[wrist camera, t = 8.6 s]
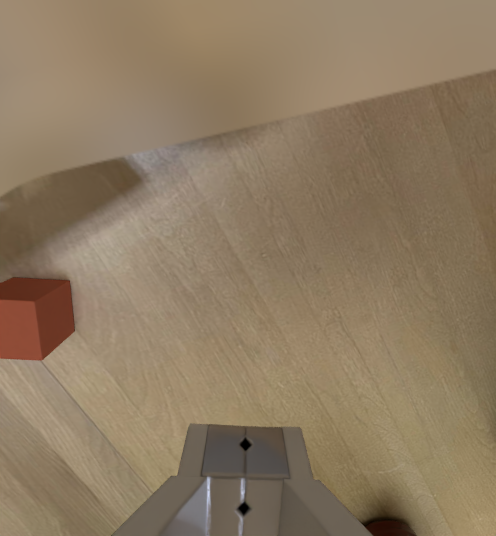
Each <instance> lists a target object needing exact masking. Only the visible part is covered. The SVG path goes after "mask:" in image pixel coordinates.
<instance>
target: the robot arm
mask: <svg viewBox="0 0 496 536" xmlns="http://www.w3.org/2000/svg"><path fill="white" fill-rule="evenodd" d="M111 536H373V535H372V534H371V533H370V532H369V531H368V530H367V529H366V528H365V527H364V526H363V525H362V524H361V523H360V522H359V521H358V519H357V518H356V517H355V516H354V515H353V514H352V513H351V512H350V511H349V510H348V509H347V508H346V507H345V506H344V505H343V504H342V503H341V502H340V501H339V500H338V499H337V498H336V497H335V496H334V494H333V493H332V492H331V491H330V490H329V489H328V488H327V487H326V486H325V485H324V484H323V483H322V482H321V481H320V480H314V479H313V475H312V471H311V467H310V463H309V458H308V454H307V450H306V446H305V442H304V438H303V433H302V429H301V428H300V427H259V426H233V425H216V424H209V425H208V424H191V423H190V425H189V427H188V431H187V435H186V440H185V444H184V448H183V453H182V457H181V461H180V466H179V470H178V475H177V476H171V477H170V478H169V479H168V480H167V481H166V482H165V483H164V484H163V485H162V486H161V487H160V488H159V489H158V490H156V491H155V492H154V493H153V494H152V495H151V496H150V497H149V498H148V499H147V500H146V501H145V502H144V503H143V504H142V505H141V506H140V507H139V508H138V509H137V510H136V511H135V512H134V513H133V514H132V515H131V516H130V517H129V518H128V519H127V520H126V521H125V522H124V523H123V524H122V525H121V526H120V527H119V528H118V529H117V530H116V531H115V532H114V533H113V534H112V535H111Z"/></svg>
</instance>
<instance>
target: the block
mask: <svg viewBox="0 0 496 536" xmlns="http://www.w3.org/2000/svg"><path fill="white" fill-rule="evenodd" d="M74 331H75V329H74V319H73V309H72V298H71V288H70V281H68V280H50V279H32V278H11V279H9V280H6V281H4V282H2V283H0V358H2V359H22V360H43V359H44V358H45V357H46V356H48V355H49V354H50V353H51V352H52V351H53V350H54V349H55V348H56V347H58V346H59V345H60V344H61V343H62V342H63V341H64V340H65V339H66V338H68V337H69V336H70V335H71V334H72V333H73V332H74Z"/></svg>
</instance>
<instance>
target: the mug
mask: <svg viewBox="0 0 496 536" xmlns="http://www.w3.org/2000/svg"><path fill="white" fill-rule="evenodd" d="M364 527H365V528H366V529H367V530H368V531H369V532H370V533H371V534H372V535H373V536H417V535H416V533H415V532H414V531H413V530H412V529H411V528H410V527H408V526H407V525H405V524H403V523H401V522H398V521H394V520H379V521H374V522H371V523H369V524H368V525H366V526H364Z"/></svg>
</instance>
